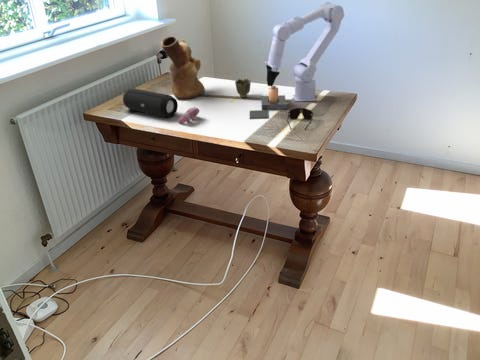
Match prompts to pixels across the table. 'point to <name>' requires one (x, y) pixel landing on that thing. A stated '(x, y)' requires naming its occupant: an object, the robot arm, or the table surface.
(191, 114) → the pink elongated curved piece
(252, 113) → the mat
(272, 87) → the tapered peach cylinder
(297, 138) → the table surface
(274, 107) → the housing
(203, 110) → the table surface
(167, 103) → the portable speaker
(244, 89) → the cup
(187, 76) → the ceramic vessel
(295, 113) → the sunglasses
